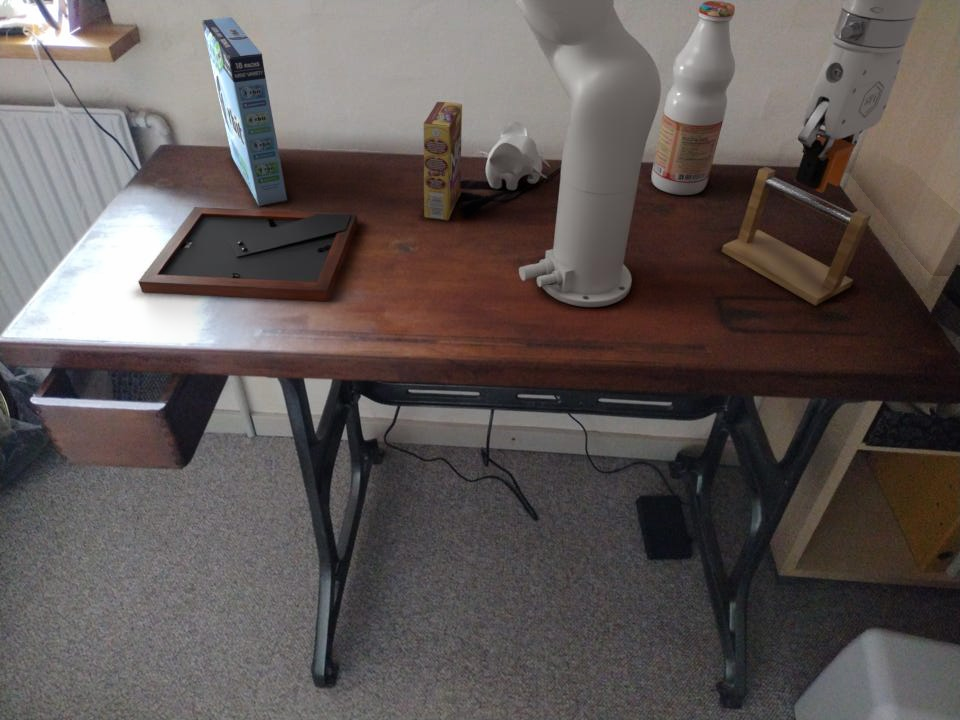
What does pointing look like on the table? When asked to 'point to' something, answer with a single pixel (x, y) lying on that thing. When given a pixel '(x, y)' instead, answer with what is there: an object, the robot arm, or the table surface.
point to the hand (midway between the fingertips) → (818, 178)
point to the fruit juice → (695, 104)
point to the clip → (835, 162)
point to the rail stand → (786, 261)
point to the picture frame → (253, 254)
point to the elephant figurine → (513, 158)
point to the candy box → (442, 160)
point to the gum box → (246, 108)
